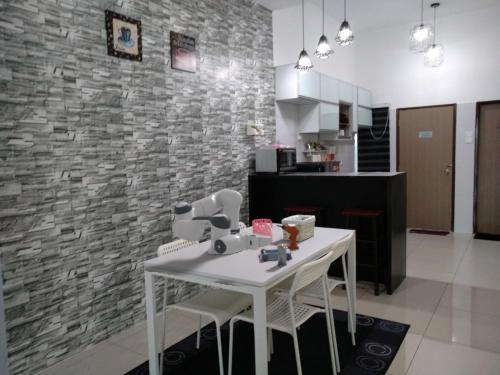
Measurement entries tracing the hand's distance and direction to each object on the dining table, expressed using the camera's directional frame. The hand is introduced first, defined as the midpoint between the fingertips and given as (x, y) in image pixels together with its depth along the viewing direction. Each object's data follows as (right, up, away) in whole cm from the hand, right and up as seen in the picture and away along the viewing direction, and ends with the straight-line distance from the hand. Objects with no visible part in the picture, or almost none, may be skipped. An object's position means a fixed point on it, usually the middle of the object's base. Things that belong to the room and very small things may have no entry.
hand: (264, 235), depth 200 cm
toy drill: (+17, -13, +47) cm, 52 cm away
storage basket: (+27, -11, +73) cm, 79 cm away
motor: (+10, -17, +10) cm, 22 cm away
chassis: (+7, -16, +26) cm, 31 cm away
